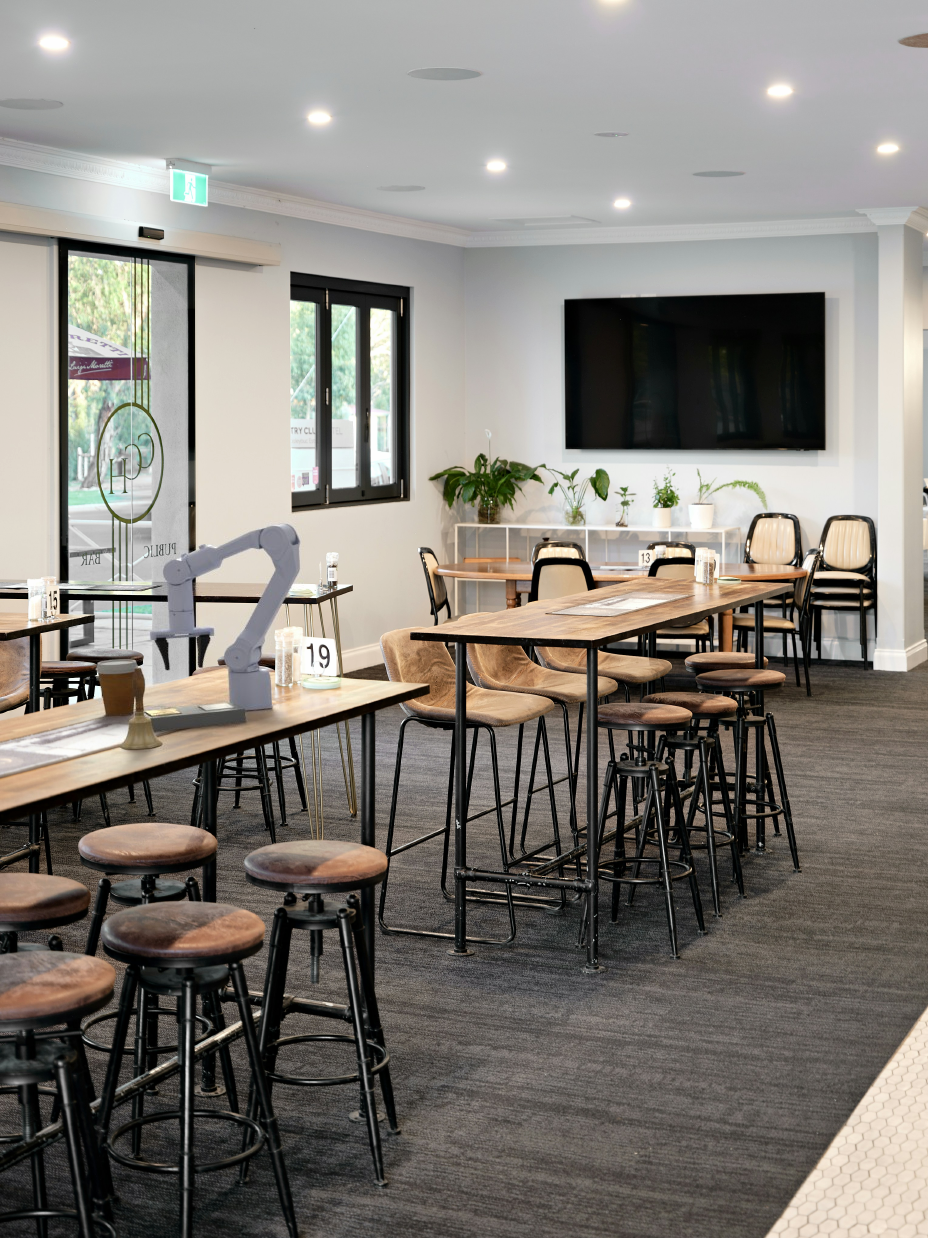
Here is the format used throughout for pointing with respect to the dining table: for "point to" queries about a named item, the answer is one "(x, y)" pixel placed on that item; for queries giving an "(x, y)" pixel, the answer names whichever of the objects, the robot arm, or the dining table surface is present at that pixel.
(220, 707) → the white button
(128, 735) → the hand bell
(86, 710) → the dining table surface
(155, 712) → the brass button
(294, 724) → the dining table surface
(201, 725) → the panel
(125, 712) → the disposable coffee cup
